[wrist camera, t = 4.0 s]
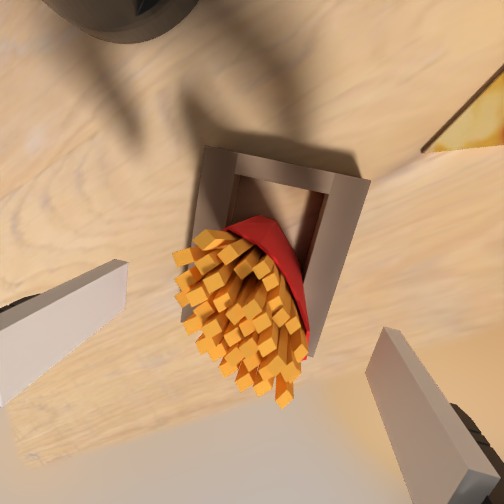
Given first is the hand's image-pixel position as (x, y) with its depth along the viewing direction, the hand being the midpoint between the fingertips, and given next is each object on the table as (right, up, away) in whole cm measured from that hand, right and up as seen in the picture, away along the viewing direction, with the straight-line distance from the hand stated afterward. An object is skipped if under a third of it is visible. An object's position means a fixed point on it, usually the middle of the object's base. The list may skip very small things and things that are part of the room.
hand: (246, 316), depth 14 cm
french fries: (+2, +3, +10) cm, 11 cm away
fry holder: (+2, +3, +10) cm, 11 cm away
